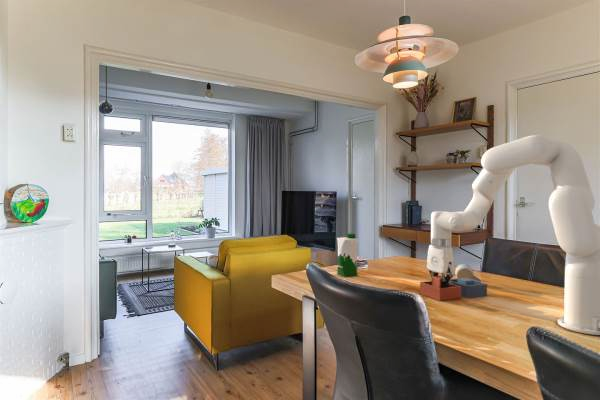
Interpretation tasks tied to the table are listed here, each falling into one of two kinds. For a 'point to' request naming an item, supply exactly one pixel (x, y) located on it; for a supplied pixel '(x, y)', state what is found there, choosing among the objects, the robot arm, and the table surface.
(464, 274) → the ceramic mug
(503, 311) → the table surface
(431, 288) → the terracotta bin
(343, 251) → the milk carton
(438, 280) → the terracotta block
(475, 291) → the slate bin
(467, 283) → the slate block
